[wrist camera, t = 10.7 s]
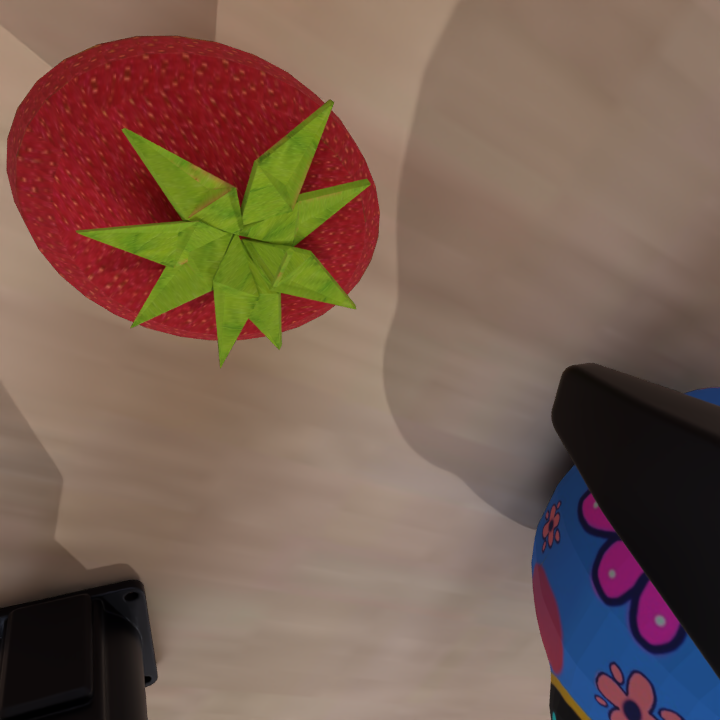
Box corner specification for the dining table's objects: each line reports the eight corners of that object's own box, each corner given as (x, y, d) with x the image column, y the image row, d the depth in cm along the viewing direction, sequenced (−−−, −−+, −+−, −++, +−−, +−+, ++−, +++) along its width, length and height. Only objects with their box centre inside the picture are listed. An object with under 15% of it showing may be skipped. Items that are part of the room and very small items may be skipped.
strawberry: (52, -41, 15) (9, -33, 7) (339, 84, 18) (533, 185, 10) (8, 201, 17) (-63, 421, 9) (271, 269, 20) (388, 468, 13)
